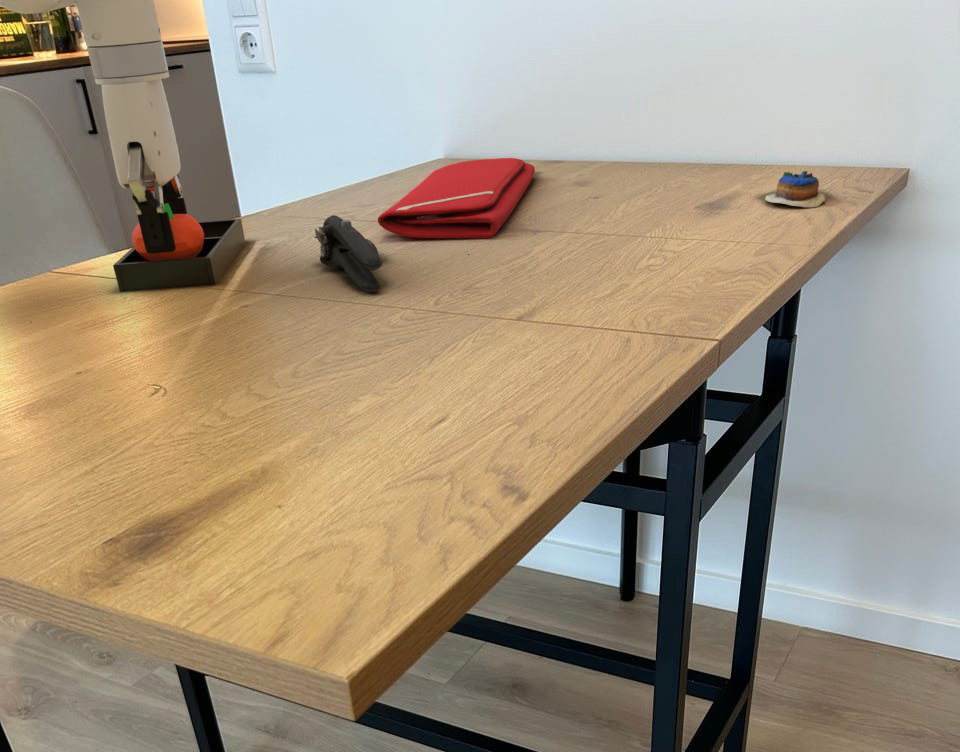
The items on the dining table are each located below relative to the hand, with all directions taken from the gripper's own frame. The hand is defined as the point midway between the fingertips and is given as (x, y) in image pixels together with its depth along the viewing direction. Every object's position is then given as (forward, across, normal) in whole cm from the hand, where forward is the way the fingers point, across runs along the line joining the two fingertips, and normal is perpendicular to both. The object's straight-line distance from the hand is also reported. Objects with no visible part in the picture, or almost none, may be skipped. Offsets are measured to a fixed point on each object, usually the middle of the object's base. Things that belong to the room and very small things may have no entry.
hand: (169, 242), depth 113 cm
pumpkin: (+3, 0, 0) cm, 3 cm away
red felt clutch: (+4, -31, +34) cm, 46 cm away
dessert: (+4, -17, +76) cm, 79 cm away
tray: (+4, -5, 0) cm, 7 cm away
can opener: (+5, +4, +21) cm, 22 cm away
